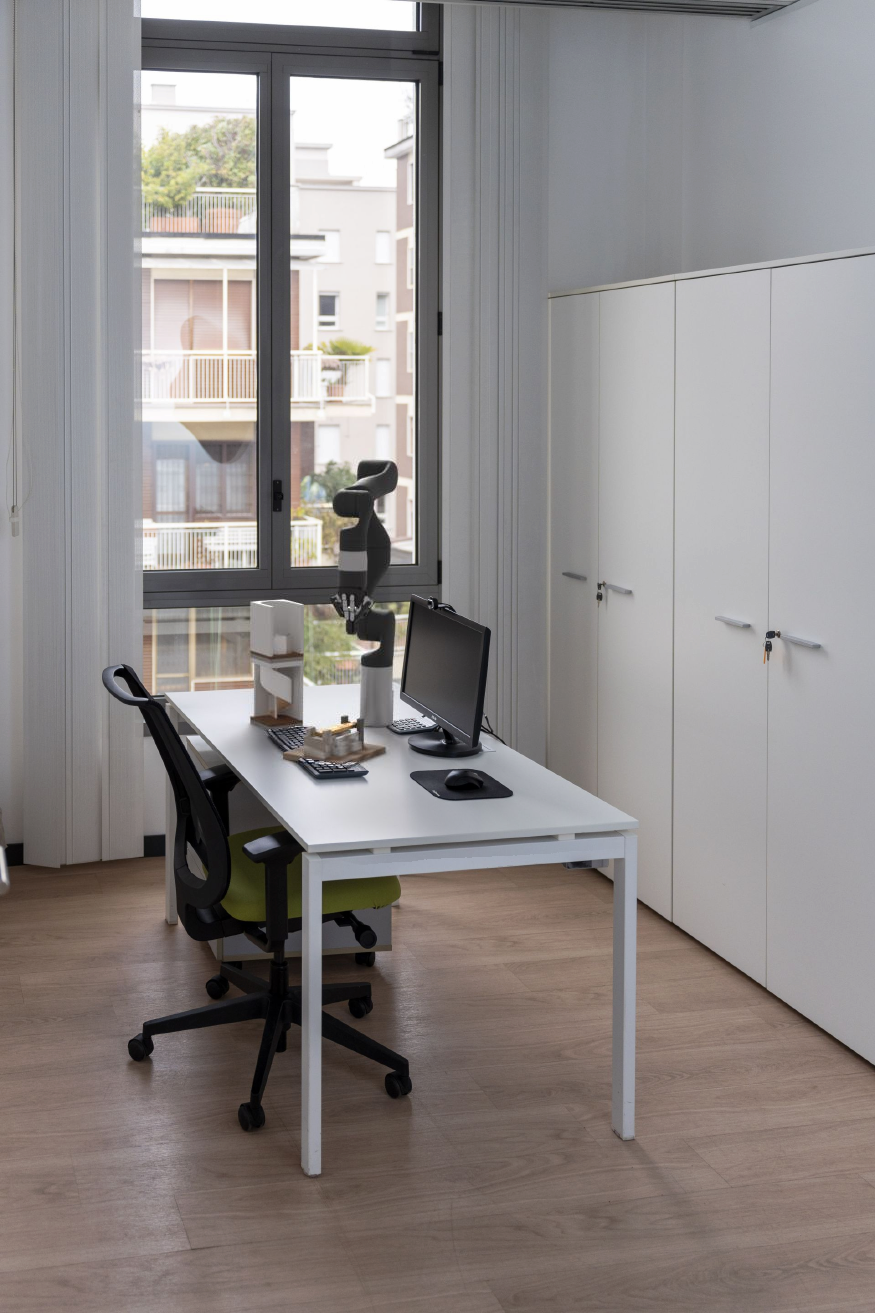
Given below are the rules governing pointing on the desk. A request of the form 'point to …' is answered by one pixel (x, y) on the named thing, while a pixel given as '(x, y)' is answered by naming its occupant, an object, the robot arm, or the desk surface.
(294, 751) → the wooden jig fixture
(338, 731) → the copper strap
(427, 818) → the desk surface
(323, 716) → the desk surface
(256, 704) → the display case
